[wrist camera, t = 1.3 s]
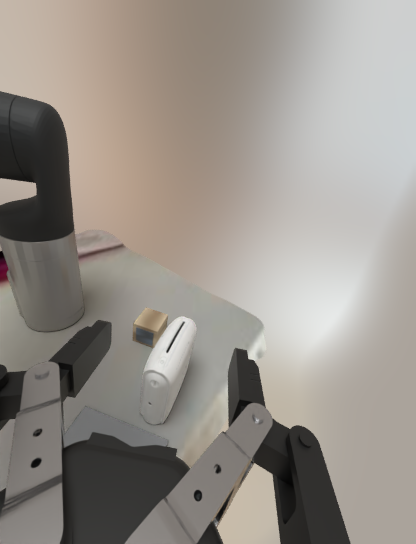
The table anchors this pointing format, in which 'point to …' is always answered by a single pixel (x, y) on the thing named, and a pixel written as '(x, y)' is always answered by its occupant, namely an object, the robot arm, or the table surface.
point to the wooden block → (149, 327)
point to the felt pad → (109, 430)
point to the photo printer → (166, 370)
